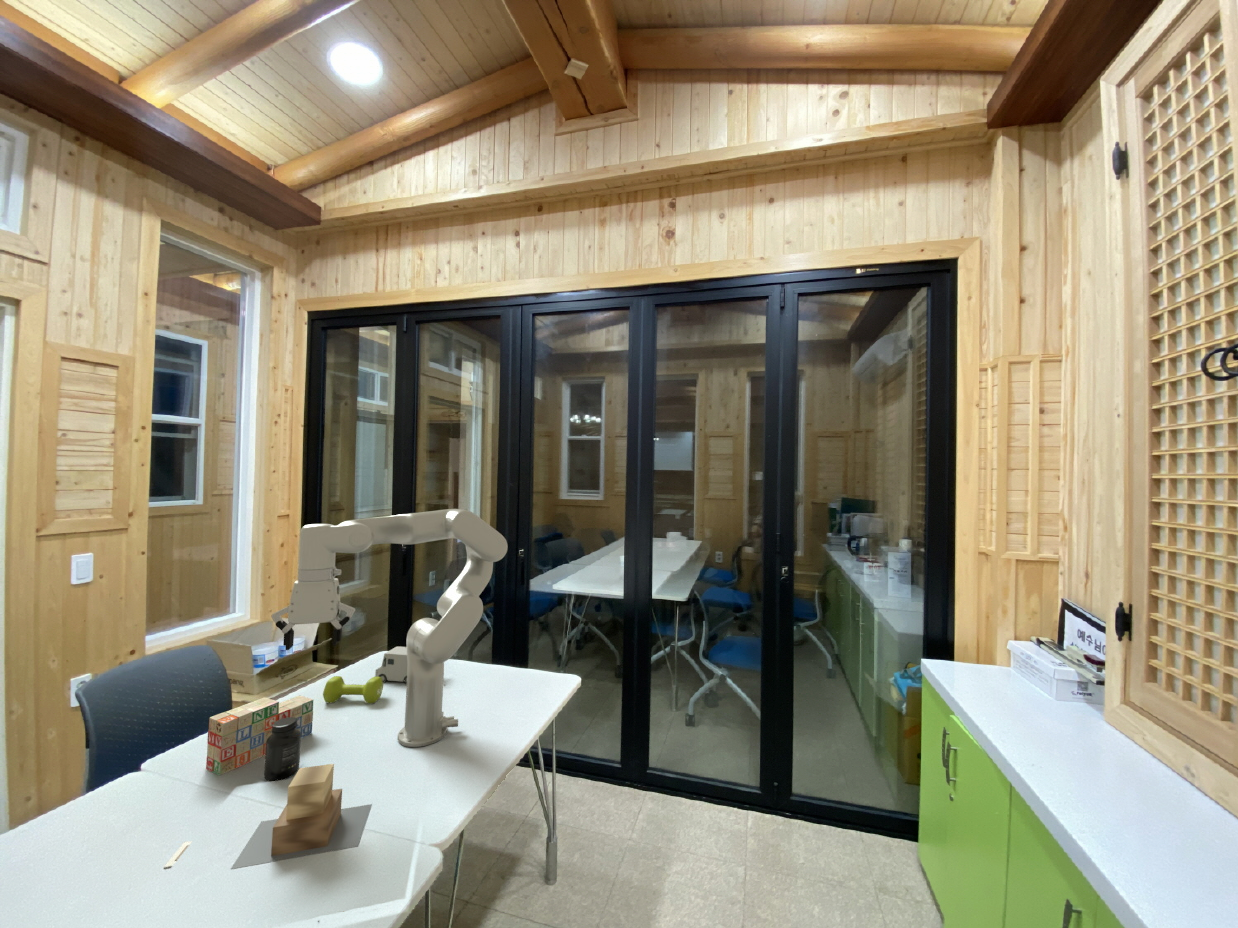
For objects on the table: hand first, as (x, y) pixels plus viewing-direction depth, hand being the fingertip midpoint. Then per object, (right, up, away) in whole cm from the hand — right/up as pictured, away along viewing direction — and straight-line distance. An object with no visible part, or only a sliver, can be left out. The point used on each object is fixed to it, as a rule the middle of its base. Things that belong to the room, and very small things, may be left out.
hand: (312, 646), depth 111 cm
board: (+14, -29, -22) cm, 39 cm away
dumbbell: (-11, -32, +36) cm, 49 cm away
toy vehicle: (-3, -33, +53) cm, 63 cm away
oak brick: (+14, -23, -22) cm, 34 cm away
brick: (+14, -28, -22) cm, 38 cm away
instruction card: (-4, -28, -25) cm, 38 cm away
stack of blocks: (-18, -30, +7) cm, 36 cm away
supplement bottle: (-6, -30, -2) cm, 30 cm away
